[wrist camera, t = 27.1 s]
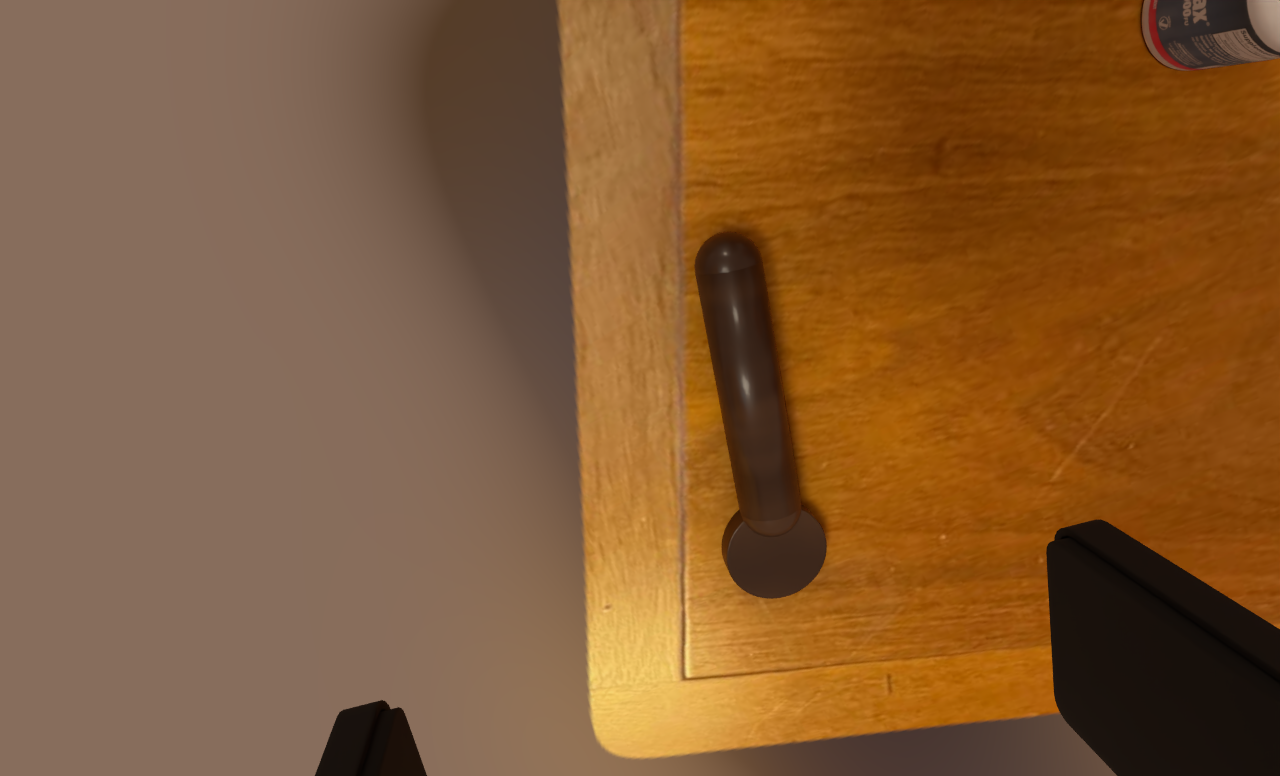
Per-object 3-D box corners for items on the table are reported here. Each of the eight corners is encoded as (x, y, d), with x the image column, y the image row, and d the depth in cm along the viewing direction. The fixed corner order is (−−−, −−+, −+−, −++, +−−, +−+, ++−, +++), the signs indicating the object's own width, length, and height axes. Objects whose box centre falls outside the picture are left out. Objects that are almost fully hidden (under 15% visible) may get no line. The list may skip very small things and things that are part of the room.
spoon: (660, 242, 35) (670, 248, 32) (769, 217, 35) (789, 221, 33) (730, 597, 41) (745, 629, 38) (825, 573, 41) (846, 603, 38)
